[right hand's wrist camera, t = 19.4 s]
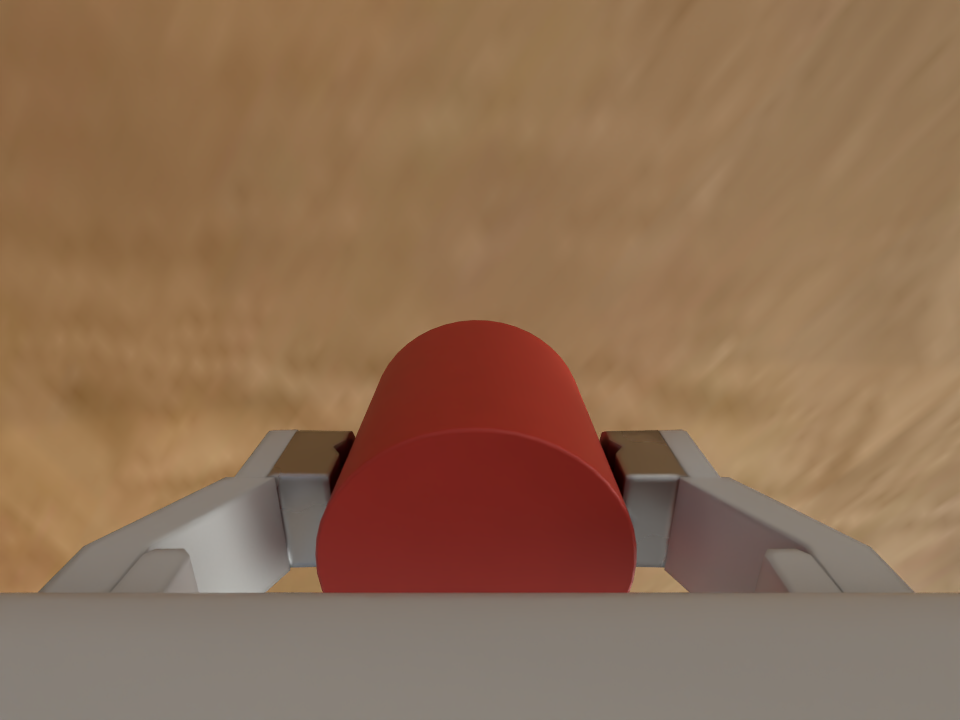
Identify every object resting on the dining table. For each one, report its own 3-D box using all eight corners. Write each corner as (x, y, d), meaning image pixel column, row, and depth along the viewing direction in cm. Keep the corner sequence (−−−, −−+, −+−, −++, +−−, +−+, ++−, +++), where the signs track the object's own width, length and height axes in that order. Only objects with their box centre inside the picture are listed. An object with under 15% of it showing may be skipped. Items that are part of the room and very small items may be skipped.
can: (376, 309, 11) (310, 414, 7) (597, 329, 11) (670, 444, 7) (372, 495, 13) (316, 673, 8) (563, 509, 13) (605, 692, 9)
